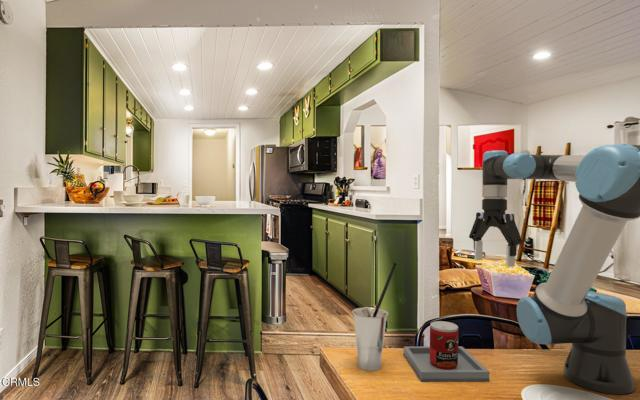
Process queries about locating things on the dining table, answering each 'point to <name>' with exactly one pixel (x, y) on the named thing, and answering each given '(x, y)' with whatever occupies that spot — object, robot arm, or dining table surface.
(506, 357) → the dining table surface
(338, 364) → the dining table surface
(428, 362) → the tray
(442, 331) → the canned food
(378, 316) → the glass
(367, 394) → the dining table surface
